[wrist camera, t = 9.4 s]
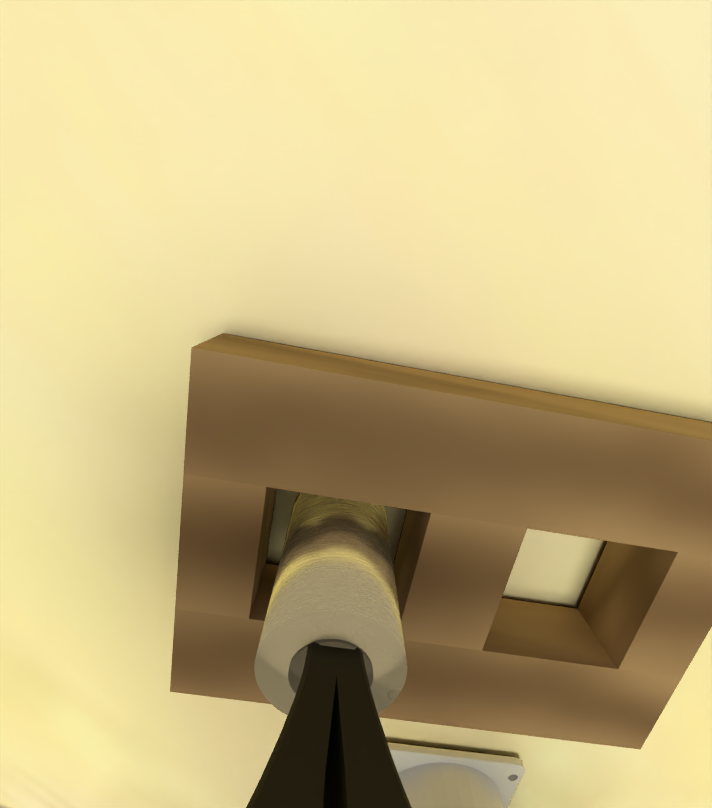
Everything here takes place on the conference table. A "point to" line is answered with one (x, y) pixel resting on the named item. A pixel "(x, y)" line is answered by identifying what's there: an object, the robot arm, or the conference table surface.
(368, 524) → the battery
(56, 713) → the conference table surface
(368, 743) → the robot arm
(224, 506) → the jig plate
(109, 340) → the conference table surface
